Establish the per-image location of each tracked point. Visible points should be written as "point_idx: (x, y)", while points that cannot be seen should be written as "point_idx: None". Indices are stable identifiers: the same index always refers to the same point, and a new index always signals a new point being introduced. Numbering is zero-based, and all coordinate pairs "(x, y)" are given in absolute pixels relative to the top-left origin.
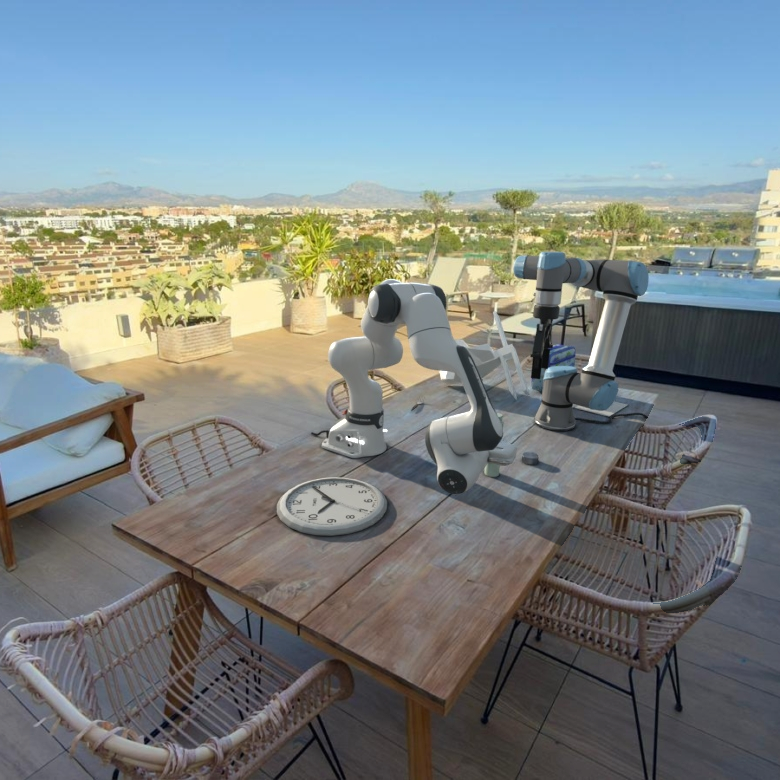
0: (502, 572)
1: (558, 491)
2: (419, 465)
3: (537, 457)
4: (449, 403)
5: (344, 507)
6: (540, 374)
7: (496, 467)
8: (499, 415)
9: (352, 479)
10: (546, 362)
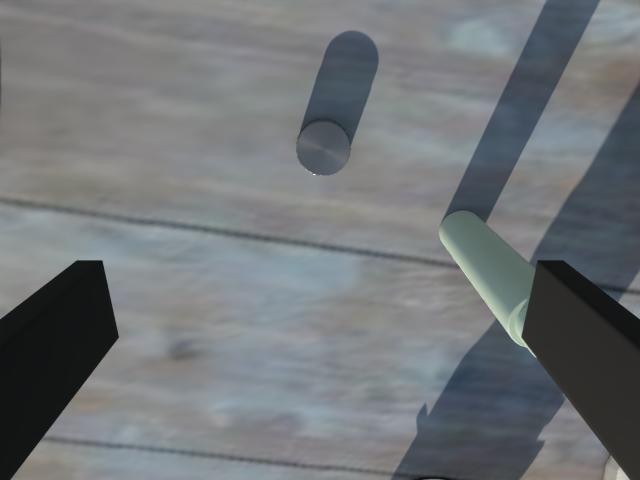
0: None
1: (514, 12)
2: (476, 394)
3: (331, 123)
4: None
5: None
6: (589, 284)
7: (487, 225)
8: None
9: (626, 478)
10: (67, 315)
